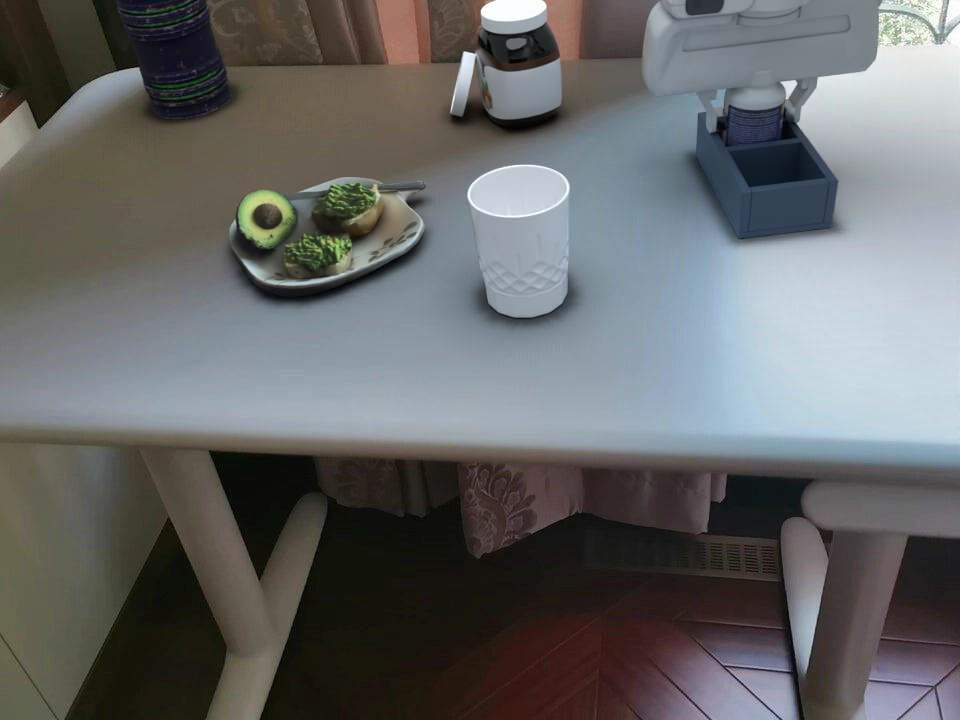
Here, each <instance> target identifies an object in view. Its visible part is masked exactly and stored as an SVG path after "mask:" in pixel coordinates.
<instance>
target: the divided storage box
mask: <svg viewBox="0 0 960 720" xmlns="http://www.w3.org/2000/svg"><path fill="white" fill-rule="evenodd" d="M696 122H697V124H696V142H695V143H696V144H695V157H696V158H697V159H696V160H698V163H699V164H700V166H701V168H702V170H703V173H704V174H705V176H706V178H707V180H708V182H709V184H710V186H711V188H712V190H713V191H714V194H715V195H716V197H717V199H718V202H719V203H720V205H721V207H722V210H723V211H724V213H725V215H726V217H727V219H728V221H729V223H730V224H731V227H732V228H733V230H734V231H733V232H735V234H736V236H737V238H738V239H739V240H740V239H747V238H755V237H764V236H773V235H781V234H786V233H787V234H789V233H798V232H805V231H806V232H807V231H813V230H822V229H830V228H832V226H833V219H834V213H835V205H836V200H837V193H838V187H839V182H840V181H839V179H838V178H837V177H836V175H835V174H834V173H833V171H832V170H831V168H830V167H829V166H828V164H827V163H826V162H825V160H824V159H823V157H822V156H821V155H820V153H819V152H818V151H817V149H816V148H815V146H814V145H813V143H812V142H811V141H810V139H809V138H808V137H807V135H806V134H805V133H804V131H803V129H802V128H801V127H800V125H798V122H797V123H789V124H782V132H781V139H780V140H778V141H770V142H762V143H754V144H746V145H738V146H729V147H726V146H725V144H724V143H723V141H722V139H721V133H722V132H717V133H709V131H708V130H707V127H706V111H700V112H698V113H697V121H696Z"/></svg>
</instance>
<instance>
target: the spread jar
mask: <svg viewBox="0 0 960 720" xmlns="http://www.w3.org/2000/svg"><path fill="white" fill-rule="evenodd" d="M480 20H481V28H480V29H479V31H478V32H477V34H476V38H475V42H474V43H475V44H474V52H475V53H472V52H469V51H463V52H462V56H461V60H460V63H459V68H458V73H457V77H456V82H455V87H454V92H453V97H452V101H451V107H450V115H453V116H457V117H461V118H462V117H463V116H464V113H465V109H466V105H467V101H468V98H469V97H468V96H469V92H470V89H471V83H472V79H473V74H474V69H475V64H476V72H477V74H476V75H477V82H478V88H479V93H480V97H481V102H482V104H483V107H484V110H485V112H486V114H487V116H488V117H489V119H490V120H491V121H492V122H493V123H495V124H497V125H499V126H502V127H506V128H526V127H527V128H528V127H531V126H532V127H533V126H535V125H538V124H541V123H543V122H545V121H546V120H548V119H550V118H551V117H552V116H554V115H555V114H556V113H557V112H558V111H559V109H560V107H561V105H562V102H563V101H562V100H563V83H562V64H561V63H562V62H561V53H560V48H559V45H558V42H557V40H556V37H555V33H554V32H553V30H552V29H551V26H550V25H549V23H548V22H547V21H548V7H547V4H546V2H545V1H544V0H492V1H490V2H489V3H487V4H485V5H484V6H482V8H481V9H480ZM475 62H476V63H475Z"/></svg>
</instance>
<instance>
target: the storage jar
mask: <svg viewBox="0 0 960 720" xmlns="http://www.w3.org/2000/svg"><path fill="white" fill-rule="evenodd" d="M207 2H208V0H115V3H116V5H117V11H118V15H119V17H120V19H121V21H122V23H123V27H124V30H125V32H126V35H127V36H128V38H130V40H131V42H132V46H133V48H134V51H135V55H136V58H137V61H138V63H139V66H138V69H139V73H140V75H141V78H142V84H143V87H144V91H145V92H146V94H147V95H148V99H149V100H150V101H151V106H152V111H153V112H154V114H155V115H156V116H158V117H159V118H162V119H167V120H187V119H192V118H197V117H201V116H205V115H207V114H210V113H212V112H216V111H218V110H219V109H221V108H223V107H224V106H226V104H228V103H229V102H230V101H231V99H232V97H233V91H232V89H231V88H232V87H231V86H230V85H229V78H228V71H227V67H226V63H225V62H224V60H223V56H222V52H221V49H220V48H219V46H217V42H216V38H215V35H214V32H213V28H212V25H211V21H210V20H211V14H210V12H211V11H210V8H209V7H208V4H207Z"/></svg>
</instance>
